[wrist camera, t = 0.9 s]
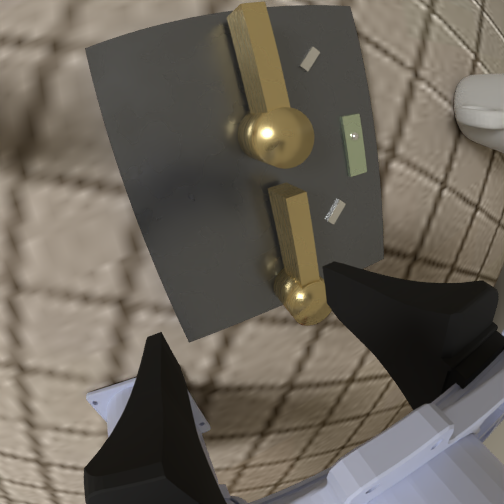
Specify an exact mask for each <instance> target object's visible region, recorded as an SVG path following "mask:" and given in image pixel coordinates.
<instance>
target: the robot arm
mask: <svg viewBox="0 0 504 504" xmlns="http://www.w3.org/2000/svg"><path fill="white" fill-rule="evenodd" d="M322 268H323V275H324V283H325V291H326V299H327V304H328V305H329V307H330V308H331V310H332V311H333V312H334V314H335V315H336V316H337V317H338V319H339V320H340V321H341V322H342V323H343V324H344V325H345V326H346V327H347V328H348V329H349V330H350V331H351V332H352V333H353V334H354V335H355V336H356V337H357V338H358V339H359V340H360V341H361V342H362V343H363V344H364V345H365V346H366V347H367V348H368V349H369V350H370V351H371V352H372V353H373V354H374V355H375V356H376V357H377V359H378V360H379V361H380V363H381V364H382V365H383V366H384V368H385V369H386V370H387V372H388V373H389V374H390V376H391V377H392V378H393V380H394V381H395V383H396V384H397V385H398V387H399V388H400V390H401V391H402V393H403V394H404V396H405V397H406V399H407V400H408V402H409V404H410V405H411V407H412V409H413V410H414V411H412V412H411V413H409V414H408V415H406V416H405V417H404V418H402V419H401V420H399V421H398V422H396V423H395V424H393V425H392V426H390V427H389V428H387V429H386V430H384V431H383V432H381V433H379V434H378V435H376V436H375V437H373V438H371V439H370V440H368V441H366V442H365V443H363V444H361V445H360V446H358V447H356V448H355V449H353V450H352V451H350V452H349V453H347V454H346V455H344V456H343V457H341V458H340V459H339V460H338V461H337V462H336V463H335V464H334V465H333V466H332V467H330V468H328V469H326V470H324V471H322V472H320V473H318V474H316V475H314V476H312V477H310V478H308V479H306V480H303V481H301V482H299V483H297V484H295V485H292V486H290V487H288V488H286V489H283V490H281V491H279V492H276V493H274V494H271V495H269V496H266V497H264V498H261V499H258V500H256V501H253V502H250V503H247V502H246V501H245V500H244V499H242V498H240V497H237V496H230V495H229V492H228V490H227V487H226V485H225V484H218V479H217V476H216V473H215V471H214V468H213V465H212V462H211V459H210V456H209V453H208V451H207V448H206V445H205V442H204V439H203V436H202V433H204V432H207V431H209V430H210V429H211V427H210V424H209V423H208V421H207V420H206V418H205V417H204V415H203V414H202V412H201V410H200V409H199V407H198V406H197V404H196V402H195V401H194V399H193V398H192V396H191V394H190V393H189V391H188V389H187V386H186V383H185V380H184V377H183V374H182V371H181V368H180V365H179V363H178V362H177V360H176V358H175V356H174V355H173V353H172V351H171V349H170V347H169V345H168V344H167V342H166V340H165V338H164V336H163V334H162V332H160V333H157V334H155V335H152V336H149V337H147V340H146V344H145V348H144V352H143V356H142V360H141V364H140V367H139V371H138V374H137V377H136V378H133V379H130V380H127V381H124V382H121V383H118V384H115V385H112V386H108V387H105V388H102V389H99V390H96V391H92V392H89V393H87V395H86V399H87V401H88V402H89V403H90V404H91V405H92V407H93V408H94V409H95V410H96V411H97V412H98V413H99V414H100V415H101V416H102V418H103V419H104V420H105V421H106V422H107V425H108V439H107V440H106V442H105V443H104V445H103V446H102V447H101V449H100V450H99V451H98V453H97V454H96V455H95V456H94V457H93V459H92V460H91V461H90V462H89V463H88V465H87V466H86V467H85V468H84V489H85V501H86V504H504V465H503V464H502V463H501V462H500V461H499V460H498V459H497V458H496V457H495V456H494V455H493V454H492V452H490V450H489V449H488V448H487V447H486V446H485V445H484V444H482V443H483V442H484V441H485V439H486V438H487V437H488V436H489V435H490V434H491V433H492V432H493V431H494V430H495V429H496V427H497V426H498V425H499V424H500V423H501V422H502V421H503V419H504V330H503V331H502V333H501V334H500V333H499V332H497V331H496V330H497V328H498V327H497V325H496V324H495V323H493V322H492V321H493V318H494V314H495V311H496V308H497V303H498V291H497V289H495V288H494V287H492V286H491V285H489V284H487V283H486V282H484V281H473V282H464V283H427V282H417V281H410V280H404V279H398V278H394V277H389V276H385V275H381V274H377V273H374V272H370V271H367V270H363V269H360V268H357V267H353V266H350V265H347V264H343V263H339V262H335V261H334V262H331V263H329V264H327V265H325V266H322ZM95 401H97V402H95Z"/></svg>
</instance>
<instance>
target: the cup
mask: <svg viewBox="0 0 504 504" xmlns="http://www.w3.org/2000/svg"><path fill="white" fill-rule="evenodd" d="M454 112H455V117H456V121H457V124H458V126H459V128H460V130H461V131H462V133H463V134H464V135H465V136H466V137H467V138H469V139H470V140H472V141H474V142H476V143H479V144H481V145H484V146H486V147H489V148H492V149H494V150H497V151H499V152H502V153H504V74H479V75H471V76H467V77H465V78H463V79H462V80H461V81H460V82H459V84H458V86H457V88H456V91H455V95H454Z"/></svg>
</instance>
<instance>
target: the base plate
mask: <svg viewBox="0 0 504 504" xmlns="http://www.w3.org/2000/svg"><path fill="white" fill-rule="evenodd" d="M266 8H267V11H268V15H269V19H270V23H271V27H272V30H273V34H274V38H275V42H276V46H277V50H278V55H279V59H280V63H281V67H282V72H283V76H284V80H285V85H286V89H287V94H288V98H289V103H290V108H294V109H297V110H299V111H301V112H302V113H303V114H305V115H306V116H307V118H308V119H309V120H310V122H311V124H312V127H313V130H314V145H313V148H312V151H311V153H310V155H309V156H308V158H307V159H306V160H305V161H304V162H303V163H301V164H300V165H298V166H296V167H293V168H288V169H282V168H277V167H275V166H272V165H269V164H267V163H264V162H261V161H258V160H256V159H253V158H251V157H249V156H248V155H246V154H245V153H244V151H243V150H242V149H241V147H240V145H239V142H238V135H237V134H238V127H239V124H240V122H241V120H242V119H243V118H244V116H245V115H246V114H248V113H249V112H250V109H249V105H248V101H247V97H246V93H245V89H244V84H243V80H242V76H241V72H240V68H239V64H238V60H237V56H236V52H235V48H234V44H233V40H232V36H231V33H230V29H229V25H228V21H227V17H228V16H229V15H230V14H231V13H232V12H233V11H228V12H221V13H215V14H209V15H203V16H198V17H192V18H187V19H183V20H178V21H174V22H169V23H165V24H161V25H157V26H153V27H149V28H146V29H142V30H139V31H135V32H132V33H128V34H125V35H122V36H119V37H116V38H113V39H110V40H107V41H104V42H101V43H98V44H96V45H93V46H90V47H88V48H85V50H86V55H87V59H88V63H89V67H90V72H91V76H92V80H93V83H94V87H95V91H96V95H97V99H98V102H99V106H100V109H101V113H102V116H103V120H104V123H105V127H106V130H107V133H108V137H109V140H110V143H111V146H112V149H113V153H114V156H115V159H116V162H117V165H118V168H119V171H120V174H121V177H122V180H123V183H124V186H125V189H126V191H127V194H128V197H129V200H130V203H131V205H132V208H133V211H134V214H135V216H136V219H137V222H138V224H139V227H140V229H141V232H142V235H143V237H144V240H145V242H146V245H147V247H148V250H149V252H150V255H151V257H152V260H153V262H154V265H155V267H156V269H157V272H158V274H159V277H160V279H161V281H162V284H163V286H164V288H165V291H166V293H167V295H168V297H169V300H170V302H171V304H172V306H173V309H174V311H175V313H176V315H177V318H178V320H179V322H180V324H181V326H182V328H183V330H184V333H185V335H186V337H187V339H188V341H189V342H192V341H194V340H197V339H200V338H202V337H205V336H207V335H210V334H213V333H215V332H218V331H220V330H223V329H225V328H228V327H230V326H233V325H235V324H238V323H240V322H243V321H245V320H248V319H250V318H253V317H255V316H257V315H260V314H262V313H265V312H267V311H269V310H272V309H274V308H276V307H279V306H281V305H283V304H282V303H281V301H280V300H279V299H278V298H277V296H276V295H275V293H274V289H273V285H274V280H275V278H276V276H277V274H278V273H279V272H280V271H281V270H282V269H283V268H284V264H283V259H282V254H281V250H280V245H279V240H278V235H277V230H276V226H275V221H274V216H273V212H272V207H271V202H270V198H269V193H268V188H270V187H273V186H277V185H280V184H283V183H286V182H287V183H289V184H291V185H293V186H295V187H297V188H300V189H302V190H304V191H306V192H307V198H308V204H309V210H310V216H311V222H312V229H313V235H314V242H315V249H316V256H317V263H318V270H319V276H321V277H322V278H323V279H324V275H323V268H322V266H325V265H327V264H329V263H331V262H334V261H335V262H339V263H343V264H347V265H350V266H353V267H357V268H360V269H363V268H365V267H368V266H370V265H372V264H374V263H376V262H378V261H380V260H382V259H384V248H383V219H382V201H381V187H380V175H379V164H378V155H377V146H376V137H375V130H374V122H373V115H372V109H371V102H370V96H369V90H368V84H367V79H366V74H365V68H364V63H363V58H362V54H361V49H360V45H359V40H358V36H357V32H356V27H355V23H354V19H353V16H352V12H351V8H350V6H329V5H304V6H279V7H266Z"/></svg>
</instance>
